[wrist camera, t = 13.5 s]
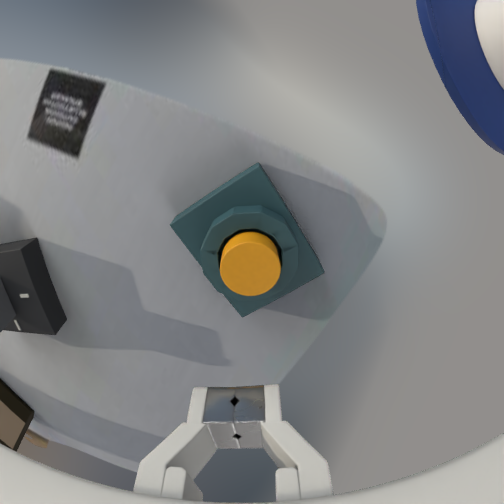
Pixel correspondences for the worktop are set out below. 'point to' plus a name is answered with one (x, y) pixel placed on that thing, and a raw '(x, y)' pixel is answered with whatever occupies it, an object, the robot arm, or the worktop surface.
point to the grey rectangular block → (5, 308)
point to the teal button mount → (247, 220)
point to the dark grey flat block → (29, 289)
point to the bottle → (13, 418)
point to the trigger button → (250, 264)
